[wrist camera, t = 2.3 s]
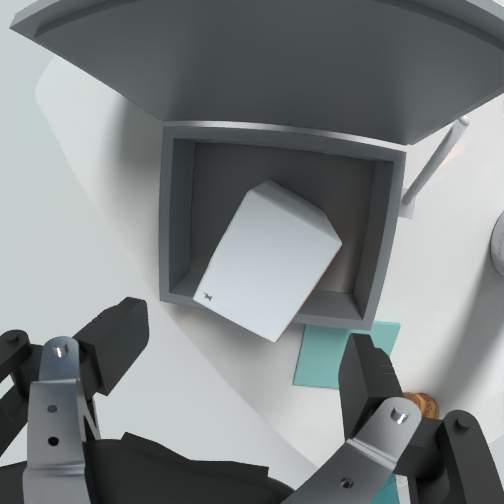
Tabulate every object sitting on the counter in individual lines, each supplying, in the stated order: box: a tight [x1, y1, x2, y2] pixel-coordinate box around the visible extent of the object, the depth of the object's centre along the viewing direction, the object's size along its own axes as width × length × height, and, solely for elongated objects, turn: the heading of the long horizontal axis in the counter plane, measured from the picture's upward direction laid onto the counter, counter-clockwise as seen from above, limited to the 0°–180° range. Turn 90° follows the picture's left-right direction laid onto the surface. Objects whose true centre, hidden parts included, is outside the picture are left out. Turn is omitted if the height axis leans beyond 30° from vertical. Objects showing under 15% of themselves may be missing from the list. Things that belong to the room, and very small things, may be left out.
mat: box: [293, 321, 400, 388], centre depth 33 cm, size 11×10×1 cm
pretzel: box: [403, 392, 439, 419], centre depth 33 cm, size 12×11×4 cm
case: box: [159, 115, 469, 331], centre depth 23 cm, size 22×19×14 cm
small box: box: [193, 180, 342, 343], centre depth 24 cm, size 8×6×13 cm
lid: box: [9, 0, 504, 146], centre depth 12 cm, size 20×16×1 cm
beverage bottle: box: [370, 473, 400, 504], centre depth 28 cm, size 6×7×20 cm
